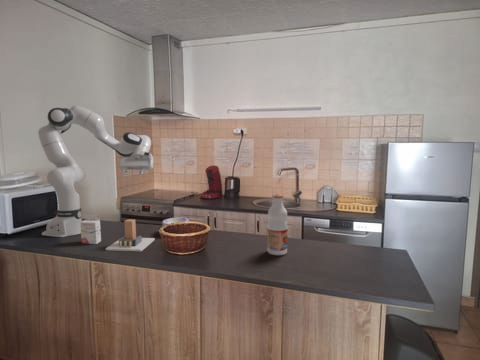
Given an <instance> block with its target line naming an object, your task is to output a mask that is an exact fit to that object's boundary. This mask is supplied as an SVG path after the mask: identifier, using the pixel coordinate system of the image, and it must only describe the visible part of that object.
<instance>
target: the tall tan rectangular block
mask: <svg viewBox="0 0 480 360" xmlns="http://www.w3.org/2000/svg"><path fill="white" fill-rule="evenodd" d="M124 236H125V239H126V240H134V239H135V238H137V226H136V219H132V218H131V219H130V218H129V219H126V220H124Z"/></svg>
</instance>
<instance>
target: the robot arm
mask: <svg viewBox="0 0 480 360" xmlns="http://www.w3.org/2000/svg"><path fill="white" fill-rule="evenodd" d="M47 120H48V124H47V125H45V126H41V127H40V128H39V129H38V132H37V133H38V138H39V141H40V144H41V147H42V149H43V152H44V153H45V157H46V158H47V160H48V161H49V162H50V163H52V164H53V165H54V166H55V168H53V169H52V170H51V169H50V171H49V172H48V173H47V175H46V181H47V183H48V184H49V185H50V186H52V188H53V190H54V192H55V194H56V196H57V204H58V210H56V211H54V213H55V214H56V216H55V217H54V218H52V219H51V220H50V221H49V222H48V223H47V224H46V229H45V230H44V231H42V232H41V236H46V237H57V238H65V237H69V236H75V235H81V223H80V222H82V221H83V220H82V218H83V216H82V215H83V213H82V211H83V210H82V208H81V198H80V194H79V193H78V192H77V190H76V189H75V185H77V184H80V183H81V182H83V181H84V180H85V179H86V175H87V174H86V171H85V169H84V168H83V167H81V166H80V165H79V164H78V163H77V162H76V161H75V160H74V158H73V157H72V156H71V154H70V152H69V150H68V148H67V146H66V143H65V141H64V139H63V137H62V134H63V133H65V132H67V131H68V130H69V129H70V128H71V127H72V125H73V124H75V125H79V127H82V128H84V129H86V130H87V131H89V132H90V133H91V134H92V135H93V136H94V137H95V138H96V139H98V141H100V142H102V143H103V144H105V145H106V146H107V147H109V148H111V149H113V150H114V152H116V153H117V154H118V155H119V156H120V157H123V158H122V159H121V161H120V162H119V164H118V167H119V169H120V170H123V171H124V172H123V174H124V176H125V175H128V174H129V172H128V170H134V171H139V176H143V174H144V173H145V172H146V171H151V170H153V168H154V161H155V160H154V156H153V154H152V153H150V150H151V146H152V140H151V138H150V136H149V135H145V134H141V135H139V134H136V133H133V132H125V133H123V135H122V137H121V139H120V141H119V140H117V138H114V137H113V136H111V135H110V134H109V133H108V132H107V130H106V129H107V128H106V125H105V121H104V119H103V117H102V116H101V115H100V114H98V113H96V112H95V111H93V110H91V109H89V108H87V107H84V106H81V105H80V104H79V105H78V104H77V105H73V106H71V107H70V108H66V107H64V108H63V107H62V108H61V107H53V108H51V109H50V110H49V111H48V113H47Z"/></svg>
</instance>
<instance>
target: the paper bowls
mask: <svg viewBox="0 0 480 360" xmlns="http://www.w3.org/2000/svg"><path fill="white" fill-rule="evenodd" d="M177 222H189V223H190V220H189V218H186V217H170V218H166V219H163V220H162V224H161V225H162V226H165V225H168V224H171V223H177ZM162 226H161V227H162Z"/></svg>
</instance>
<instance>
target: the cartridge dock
mask: <svg viewBox="0 0 480 360" xmlns="http://www.w3.org/2000/svg"><path fill="white" fill-rule="evenodd" d="M154 241H156V240H155V238H154V237H143V236H142V235H138V236H136V238H135V239H134V240H126V239H125V235H124V236H123V237H121V238H119V239H118V240H116V241H115V242H113V243H112V244H110V245H109V246H107V247H106V248H105V251H114V252H115V251H116V252H143V250H144V249H146V248H147V247H148V246H149V245H151V244H152V243H153V242H154Z"/></svg>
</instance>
